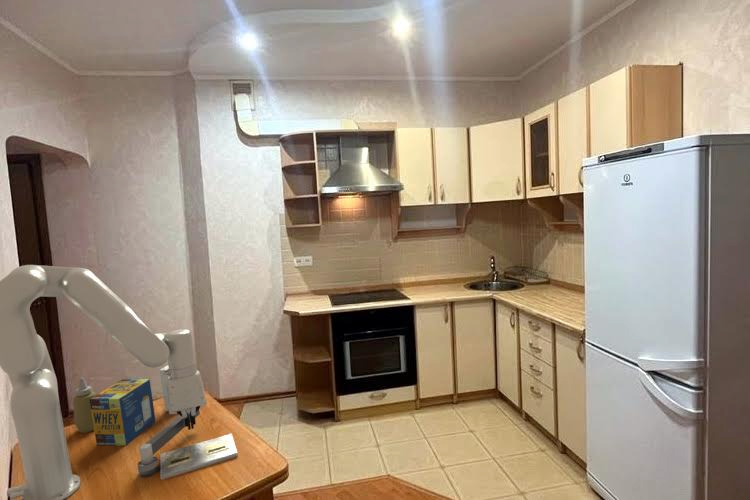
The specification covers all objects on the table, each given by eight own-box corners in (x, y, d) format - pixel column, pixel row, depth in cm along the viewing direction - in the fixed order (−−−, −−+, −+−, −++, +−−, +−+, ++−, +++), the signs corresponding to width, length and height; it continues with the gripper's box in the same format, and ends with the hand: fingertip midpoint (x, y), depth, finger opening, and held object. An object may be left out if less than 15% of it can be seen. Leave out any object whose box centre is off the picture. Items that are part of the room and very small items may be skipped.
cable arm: (148, 464, 121) (146, 449, 121) (138, 464, 122) (136, 449, 121) (201, 417, 146) (199, 405, 145) (192, 417, 147) (191, 405, 146)
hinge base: (138, 479, 120) (137, 469, 120) (139, 470, 124) (137, 460, 124) (159, 473, 122) (157, 463, 122) (159, 464, 127) (157, 454, 126)
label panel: (161, 480, 119) (160, 474, 119) (161, 457, 130) (160, 453, 130) (237, 456, 128) (237, 451, 127) (231, 437, 138) (231, 432, 138)
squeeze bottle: (78, 427, 153) (69, 377, 151) (105, 420, 157) (97, 371, 154) (73, 437, 146) (64, 385, 144) (102, 430, 149) (93, 379, 147)
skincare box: (180, 412, 158) (174, 370, 156) (163, 411, 160) (157, 370, 158) (194, 401, 166) (188, 361, 164) (178, 401, 168) (172, 361, 166)
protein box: (95, 446, 140) (88, 399, 138) (129, 421, 155) (122, 378, 153) (126, 446, 138) (118, 398, 136) (156, 421, 153) (150, 378, 151)
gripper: (155, 380, 128) (164, 440, 131) (210, 368, 135) (217, 425, 137) (156, 372, 135) (164, 429, 137) (208, 361, 141) (215, 415, 144)
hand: (190, 427), depth 137 cm, fingers closed
